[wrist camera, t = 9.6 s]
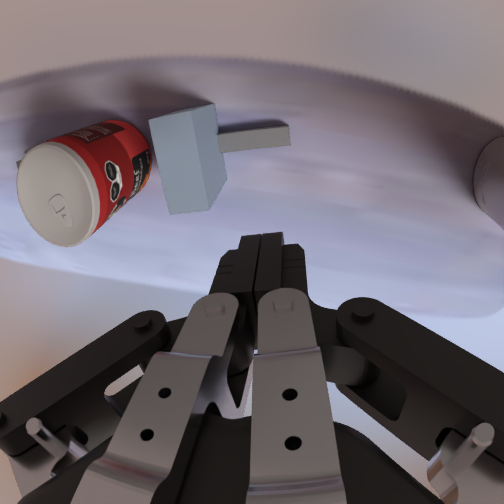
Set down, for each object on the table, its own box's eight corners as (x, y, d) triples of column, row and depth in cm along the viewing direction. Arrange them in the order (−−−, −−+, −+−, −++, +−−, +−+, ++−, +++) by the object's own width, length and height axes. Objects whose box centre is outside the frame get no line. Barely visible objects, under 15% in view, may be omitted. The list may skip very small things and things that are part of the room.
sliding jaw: (284, 94, 24) (285, 97, 18) (293, 172, 28) (296, 202, 21) (177, 110, 26) (143, 121, 19) (191, 183, 29) (164, 215, 22)
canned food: (124, 209, 31) (67, 266, 21) (74, 157, 28) (3, 196, 19) (171, 159, 28) (116, 202, 18) (115, 102, 25) (40, 120, 16)
